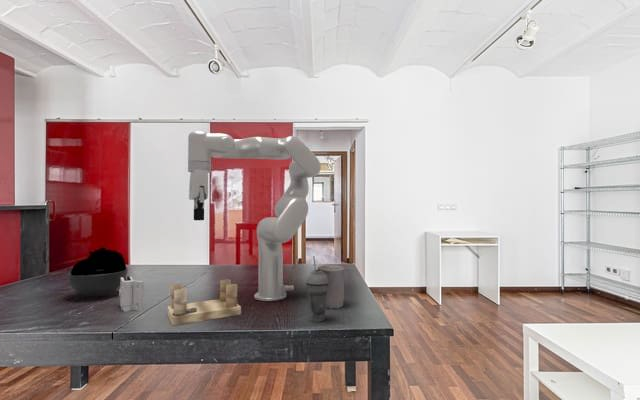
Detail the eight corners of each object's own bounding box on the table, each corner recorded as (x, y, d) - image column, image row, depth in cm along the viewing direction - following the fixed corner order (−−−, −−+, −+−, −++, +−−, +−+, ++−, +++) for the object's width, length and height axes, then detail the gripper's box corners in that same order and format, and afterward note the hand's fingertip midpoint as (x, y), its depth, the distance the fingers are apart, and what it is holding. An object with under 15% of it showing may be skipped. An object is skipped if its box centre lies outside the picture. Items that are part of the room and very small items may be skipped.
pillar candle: (311, 305, 120) (312, 264, 120) (329, 299, 127) (329, 260, 127) (331, 311, 113) (332, 267, 114) (349, 305, 121) (349, 264, 121)
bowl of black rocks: (106, 303, 122) (107, 252, 122) (53, 303, 122) (54, 252, 123) (137, 290, 142) (138, 246, 142) (91, 289, 142) (92, 246, 143)
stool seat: (230, 304, 121) (230, 278, 121) (240, 314, 110) (241, 285, 110) (167, 313, 110) (167, 285, 110) (172, 325, 99) (172, 293, 99)
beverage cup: (326, 324, 100) (326, 258, 101) (303, 322, 102) (303, 257, 102) (330, 316, 108) (330, 255, 108) (308, 315, 109) (309, 254, 110)
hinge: (143, 310, 114) (144, 281, 114) (126, 314, 110) (126, 284, 110) (129, 302, 123) (130, 275, 123) (113, 305, 119) (113, 277, 119)
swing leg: (195, 309, 106) (195, 286, 107) (198, 311, 103) (198, 289, 104) (172, 312, 102) (173, 289, 103) (175, 315, 100) (175, 292, 100)
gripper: (184, 169, 120) (184, 219, 119) (191, 164, 107) (191, 221, 106) (206, 170, 124) (205, 219, 123) (215, 166, 111) (214, 220, 110)
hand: (198, 220), depth 115 cm, fingers closed
